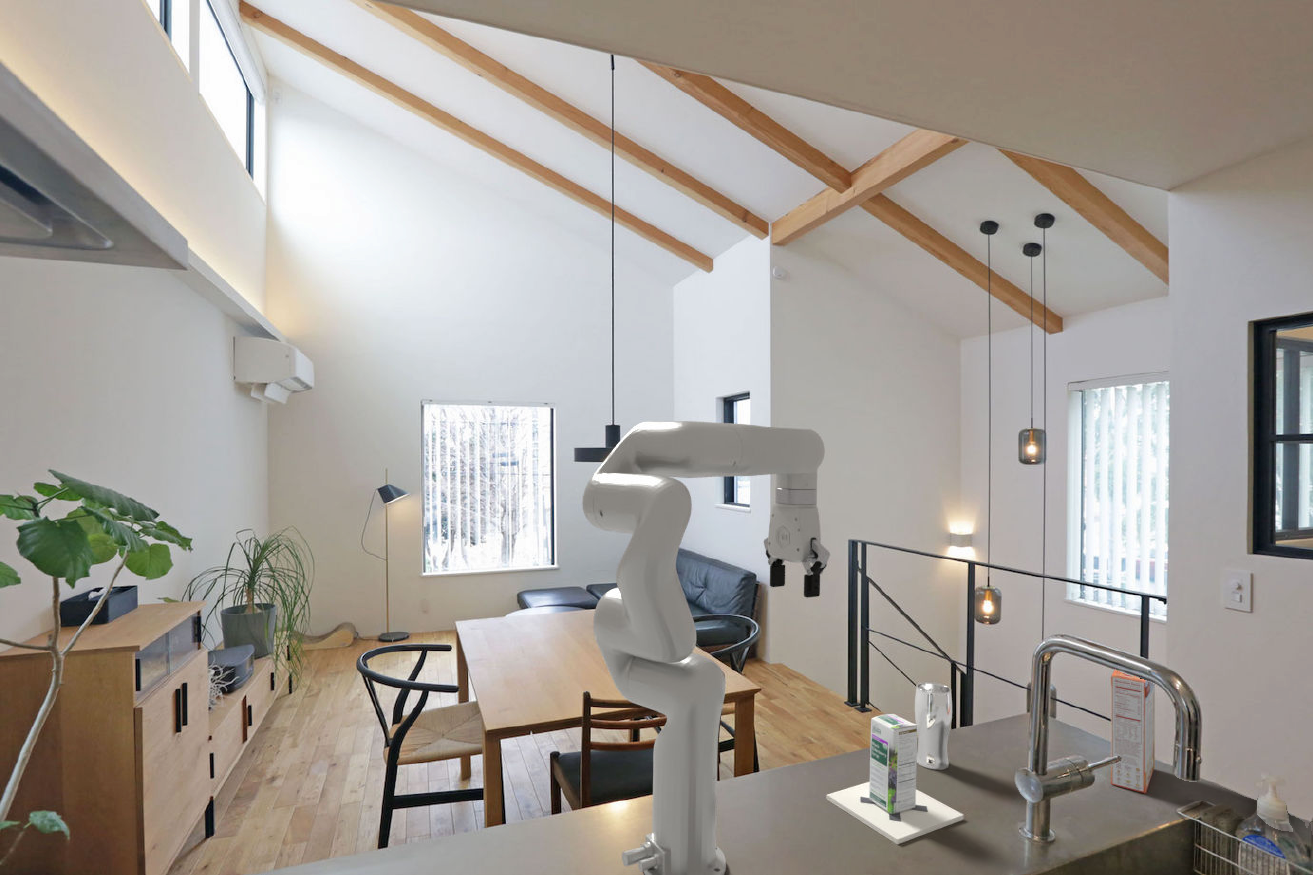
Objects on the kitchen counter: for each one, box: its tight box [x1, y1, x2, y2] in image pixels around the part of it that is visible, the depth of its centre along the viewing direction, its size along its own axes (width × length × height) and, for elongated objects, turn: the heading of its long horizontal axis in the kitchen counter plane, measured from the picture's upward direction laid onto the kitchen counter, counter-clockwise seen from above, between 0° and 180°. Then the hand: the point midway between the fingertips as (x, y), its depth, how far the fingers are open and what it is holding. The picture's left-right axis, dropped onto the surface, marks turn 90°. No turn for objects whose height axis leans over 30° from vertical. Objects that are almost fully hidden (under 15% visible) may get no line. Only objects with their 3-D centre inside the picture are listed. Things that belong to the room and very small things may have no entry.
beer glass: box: [914, 681, 953, 771], centre depth 142 cm, size 7×7×15 cm
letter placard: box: [826, 781, 964, 845], centre depth 124 cm, size 16×16×1 cm
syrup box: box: [869, 713, 918, 814], centre depth 124 cm, size 6×6×14 cm
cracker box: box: [1110, 669, 1156, 794], centre depth 138 cm, size 14×6×21 cm, turn 139°
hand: (794, 591), depth 131 cm, fingers open, 9 cm apart
